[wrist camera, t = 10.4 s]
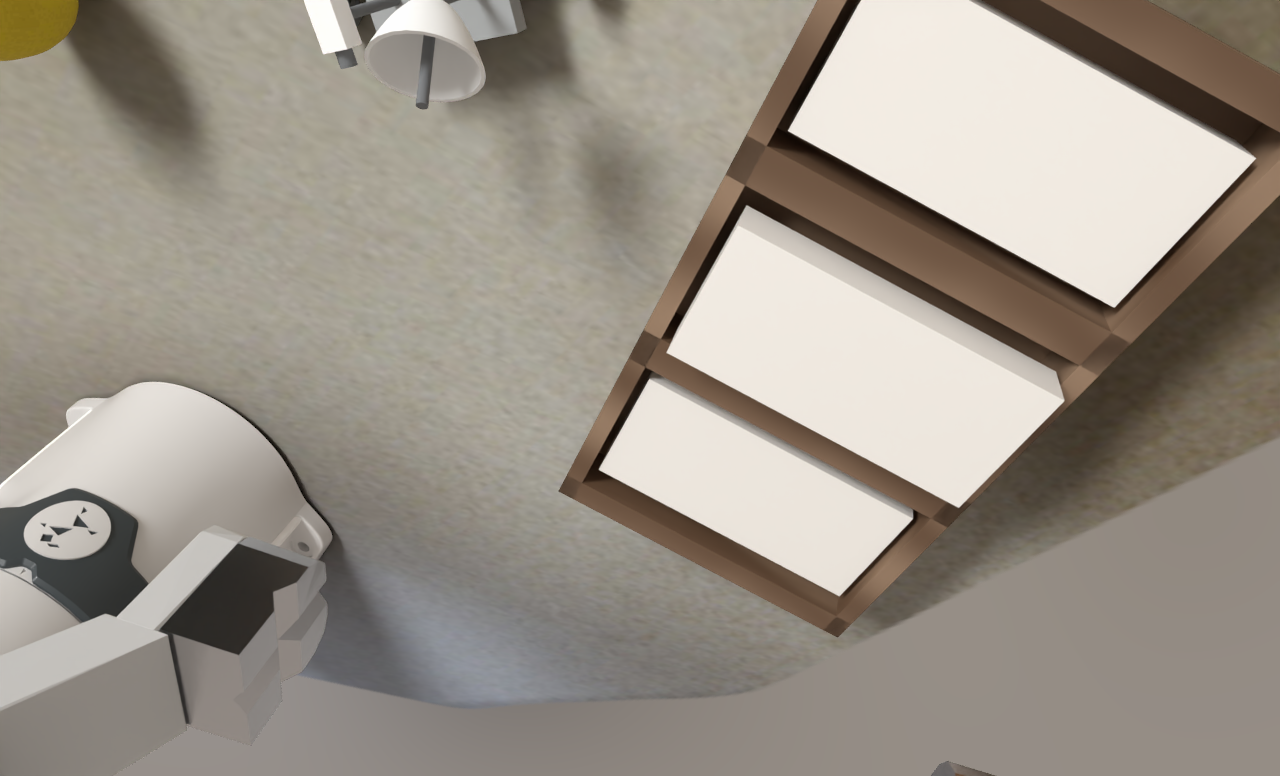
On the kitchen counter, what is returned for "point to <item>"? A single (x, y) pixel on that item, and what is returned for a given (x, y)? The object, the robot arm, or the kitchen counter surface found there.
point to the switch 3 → (752, 486)
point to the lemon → (34, 26)
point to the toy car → (418, 41)
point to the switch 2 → (862, 360)
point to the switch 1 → (1016, 138)
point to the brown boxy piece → (933, 274)
